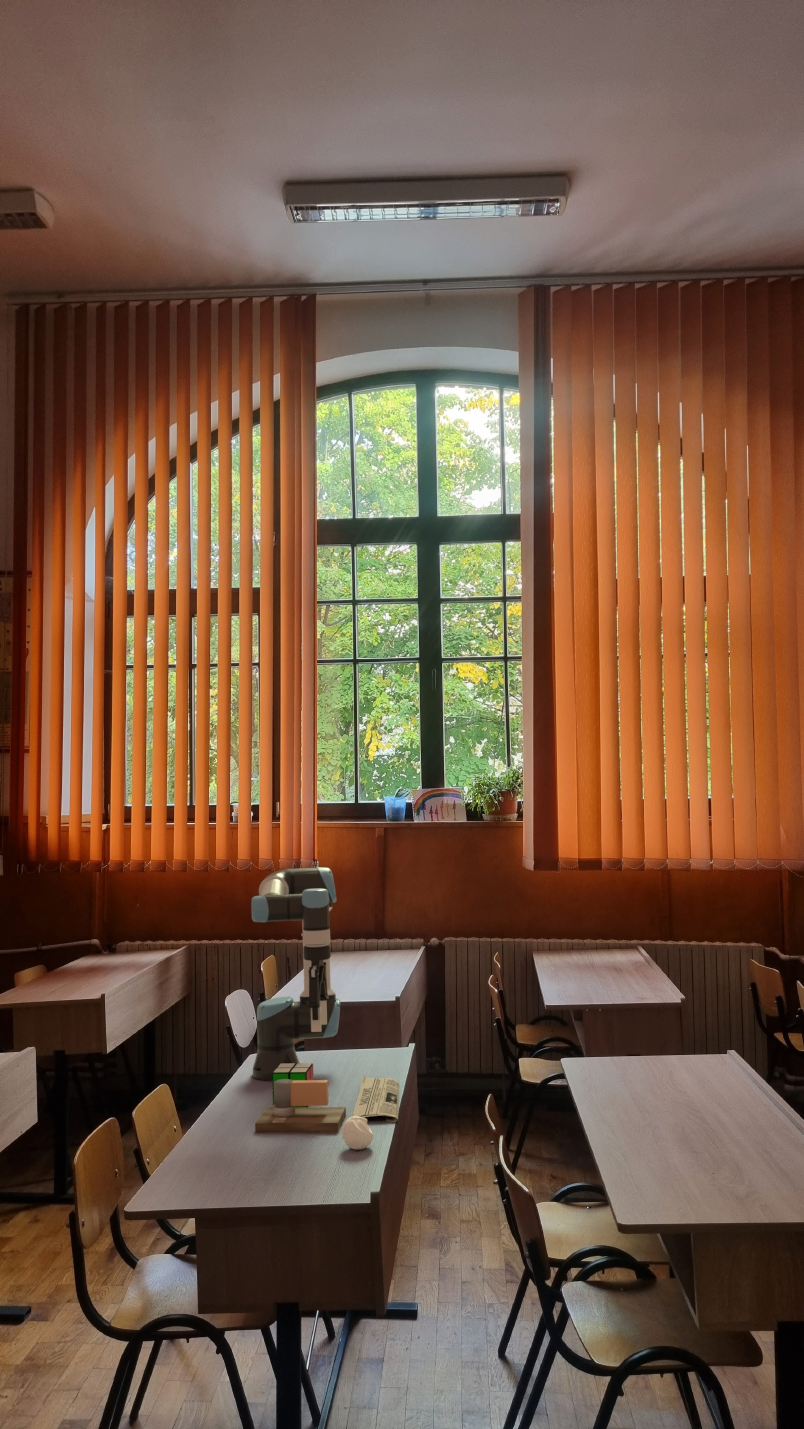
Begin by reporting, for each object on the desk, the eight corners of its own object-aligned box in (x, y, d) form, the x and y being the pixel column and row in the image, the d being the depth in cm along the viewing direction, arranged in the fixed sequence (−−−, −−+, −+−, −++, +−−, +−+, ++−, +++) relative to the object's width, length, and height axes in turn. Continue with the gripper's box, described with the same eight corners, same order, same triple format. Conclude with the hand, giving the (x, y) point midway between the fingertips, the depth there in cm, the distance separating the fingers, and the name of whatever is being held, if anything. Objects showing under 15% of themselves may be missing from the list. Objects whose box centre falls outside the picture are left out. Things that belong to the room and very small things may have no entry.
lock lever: (277, 1101, 264) (276, 1079, 265) (329, 1101, 263) (328, 1078, 263) (272, 1107, 259) (272, 1084, 260) (326, 1107, 258) (325, 1084, 258)
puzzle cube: (314, 1098, 282) (313, 1062, 283) (307, 1108, 272) (306, 1072, 273) (280, 1098, 283) (279, 1063, 284) (272, 1109, 273) (271, 1072, 274)
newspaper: (398, 1124, 258) (397, 1110, 258) (351, 1126, 258) (351, 1112, 258) (399, 1085, 293) (398, 1073, 293) (358, 1087, 293) (357, 1075, 293)
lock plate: (267, 1116, 266) (266, 1100, 267) (345, 1116, 264) (345, 1099, 265) (255, 1132, 254) (254, 1115, 254) (338, 1132, 251) (337, 1114, 252)
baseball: (375, 1153, 236) (374, 1120, 236) (344, 1156, 234) (343, 1123, 235) (371, 1142, 243) (370, 1110, 244) (341, 1144, 242) (340, 1112, 243)
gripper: (310, 939, 282) (313, 1019, 280) (295, 950, 261) (298, 1037, 259) (336, 939, 281) (338, 1019, 279) (323, 950, 260) (326, 1036, 258)
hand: (319, 1027), depth 269 cm, fingers open, 8 cm apart
